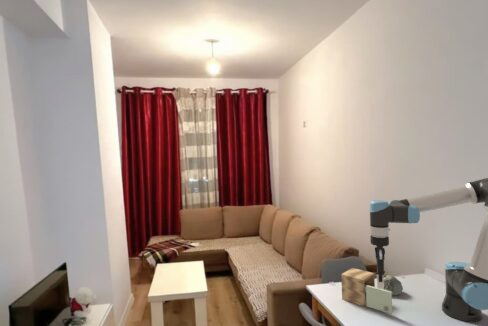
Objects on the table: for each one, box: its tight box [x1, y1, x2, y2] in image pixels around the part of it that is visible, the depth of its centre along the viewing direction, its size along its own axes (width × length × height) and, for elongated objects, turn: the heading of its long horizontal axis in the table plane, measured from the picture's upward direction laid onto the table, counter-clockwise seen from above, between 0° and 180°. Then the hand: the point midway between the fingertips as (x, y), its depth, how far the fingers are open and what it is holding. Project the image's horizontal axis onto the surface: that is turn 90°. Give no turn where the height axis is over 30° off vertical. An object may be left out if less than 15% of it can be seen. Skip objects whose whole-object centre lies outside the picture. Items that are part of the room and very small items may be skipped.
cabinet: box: [340, 267, 376, 307], centre depth 158 cm, size 12×12×13 cm
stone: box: [384, 274, 404, 296], centre depth 163 cm, size 10×10×10 cm
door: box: [365, 285, 393, 315], centre depth 144 cm, size 2×12×10 cm, turn 46°
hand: (380, 288), depth 136 cm, fingers closed
